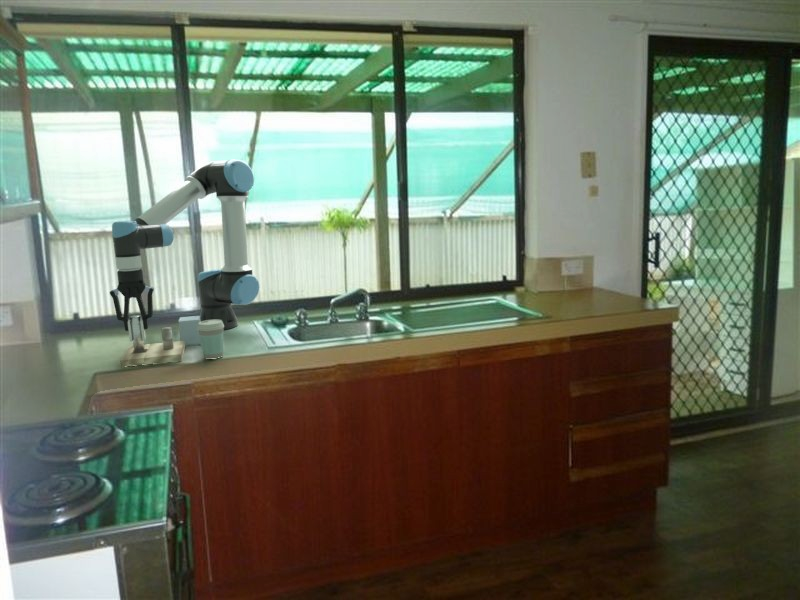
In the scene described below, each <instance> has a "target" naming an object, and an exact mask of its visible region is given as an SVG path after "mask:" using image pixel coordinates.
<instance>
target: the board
mask: <svg viewBox="0 0 800 600" xmlns="http://www.w3.org/2000/svg"><path fill="white" fill-rule="evenodd" d="M160 330H161V331H160V332H161V339H162V342H155V343H154V342H153V343H147V344H144V350H145V351H144V352H142V353H134V347H133V345H129V346H128V347H127V348H126V350H125V352H124V353H123V356H122V357H121V359H120V365H121V368H122V367H125V366H133V365H142V364H153V363H163V364H168V363H167V362H172V363H178V362H177V361H181V362H182V361H183V359H184V358H183V357H184V353H185V350H186V349H185V348H186V346H185V342H184V341H181V340H178V341H176V340H175V341H174V340H173V330H172V327H171V326H166V327H161V329H160ZM153 365H154V364H153ZM125 368H126V367H125Z"/></svg>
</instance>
